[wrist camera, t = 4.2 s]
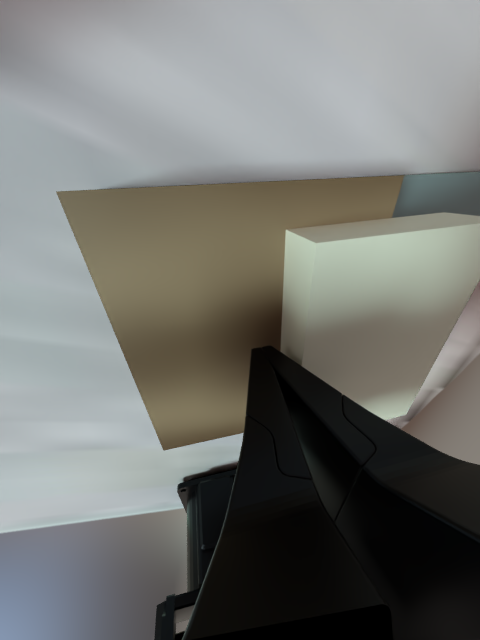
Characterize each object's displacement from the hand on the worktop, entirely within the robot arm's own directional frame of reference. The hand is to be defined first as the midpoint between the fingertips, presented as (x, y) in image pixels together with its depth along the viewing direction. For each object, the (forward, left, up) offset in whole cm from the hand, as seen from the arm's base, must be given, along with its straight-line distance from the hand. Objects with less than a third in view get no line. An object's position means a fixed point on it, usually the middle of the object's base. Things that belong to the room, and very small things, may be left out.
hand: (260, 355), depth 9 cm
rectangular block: (0, -4, 0) cm, 4 cm away
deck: (0, 0, -4) cm, 4 cm away
